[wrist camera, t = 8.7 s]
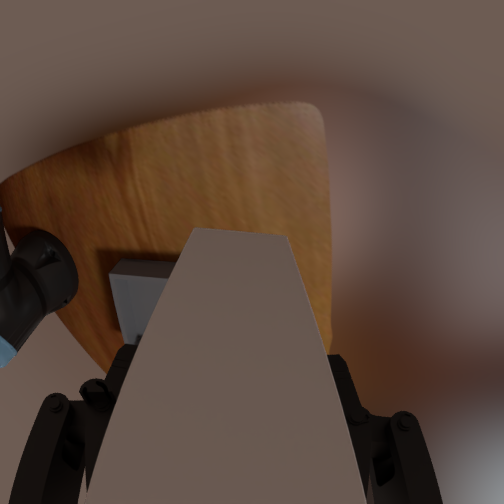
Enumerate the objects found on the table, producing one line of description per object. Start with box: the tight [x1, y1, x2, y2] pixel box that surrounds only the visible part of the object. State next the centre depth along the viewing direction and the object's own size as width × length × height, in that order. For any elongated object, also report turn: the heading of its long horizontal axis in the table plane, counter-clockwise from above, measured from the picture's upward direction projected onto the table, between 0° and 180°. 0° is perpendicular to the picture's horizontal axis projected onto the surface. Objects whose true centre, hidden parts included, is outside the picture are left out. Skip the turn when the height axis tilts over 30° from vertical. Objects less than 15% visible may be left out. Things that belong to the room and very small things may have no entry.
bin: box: [109, 258, 177, 345], centre depth 42 cm, size 20×17×5 cm
